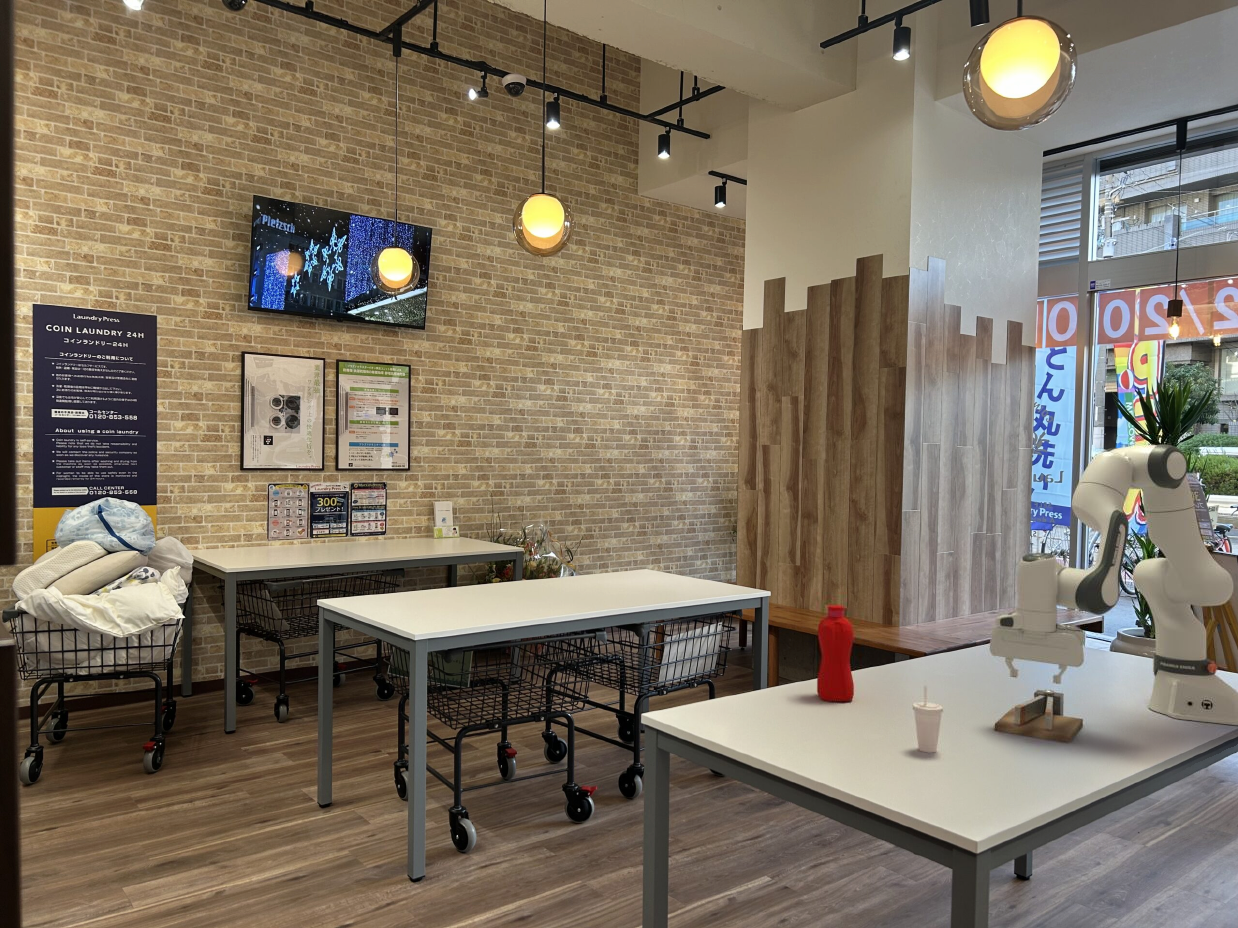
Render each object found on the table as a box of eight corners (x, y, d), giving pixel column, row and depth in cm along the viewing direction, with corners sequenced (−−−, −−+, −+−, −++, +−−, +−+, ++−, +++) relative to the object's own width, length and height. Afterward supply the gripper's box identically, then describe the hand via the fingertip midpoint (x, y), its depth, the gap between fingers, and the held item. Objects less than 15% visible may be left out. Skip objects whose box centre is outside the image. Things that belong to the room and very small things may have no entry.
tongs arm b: (1039, 711, 220) (1040, 694, 220) (1045, 712, 219) (1045, 695, 219) (1014, 723, 208) (1014, 706, 208) (1020, 724, 207) (1020, 707, 207)
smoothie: (918, 743, 198) (919, 681, 198) (947, 749, 194) (947, 685, 194) (907, 750, 193) (908, 686, 193) (936, 756, 189) (937, 691, 189)
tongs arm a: (1047, 712, 218) (1047, 696, 218) (1053, 713, 218) (1053, 696, 218) (1045, 729, 204) (1045, 711, 204) (1051, 730, 204) (1051, 712, 204)
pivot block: (1063, 717, 221) (1063, 690, 221) (1060, 720, 217) (1060, 694, 217) (1037, 713, 224) (1037, 687, 224) (1033, 716, 221) (1034, 690, 221)
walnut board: (1082, 724, 214) (1082, 718, 214) (1069, 742, 200) (1069, 736, 200) (1012, 713, 224) (1012, 707, 224) (994, 730, 209) (994, 723, 209)
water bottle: (848, 692, 243) (849, 602, 243) (855, 703, 232) (856, 608, 232) (814, 691, 244) (815, 601, 244) (819, 702, 233) (820, 607, 233)
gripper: (1087, 625, 206) (1086, 684, 206) (995, 615, 218) (993, 671, 218) (1083, 628, 201) (1081, 689, 200) (988, 618, 213) (987, 675, 213)
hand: (1035, 679), depth 209 cm, fingers open, 8 cm apart
